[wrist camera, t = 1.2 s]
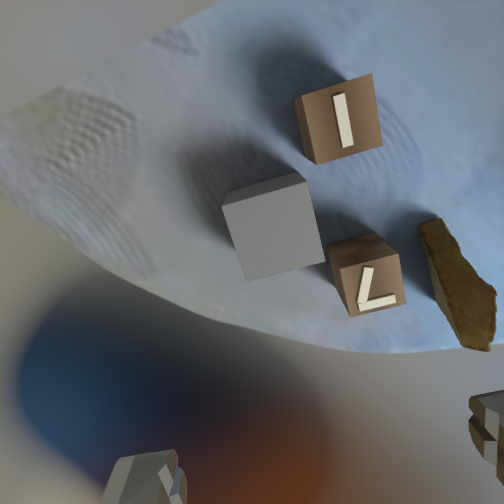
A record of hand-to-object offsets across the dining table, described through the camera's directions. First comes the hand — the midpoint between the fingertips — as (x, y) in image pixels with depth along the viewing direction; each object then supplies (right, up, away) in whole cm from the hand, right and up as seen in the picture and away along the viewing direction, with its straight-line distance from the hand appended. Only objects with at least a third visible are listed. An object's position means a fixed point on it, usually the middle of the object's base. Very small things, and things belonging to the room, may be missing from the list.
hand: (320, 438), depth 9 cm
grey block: (0, +9, +24) cm, 25 cm away
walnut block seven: (+9, +4, +25) cm, 27 cm away
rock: (+18, +4, +26) cm, 32 cm away
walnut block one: (+5, +17, +21) cm, 27 cm away
